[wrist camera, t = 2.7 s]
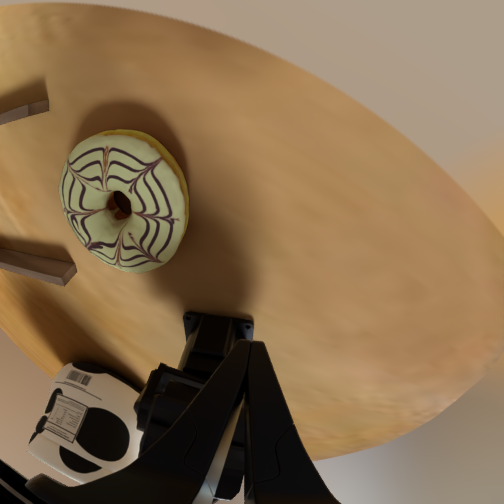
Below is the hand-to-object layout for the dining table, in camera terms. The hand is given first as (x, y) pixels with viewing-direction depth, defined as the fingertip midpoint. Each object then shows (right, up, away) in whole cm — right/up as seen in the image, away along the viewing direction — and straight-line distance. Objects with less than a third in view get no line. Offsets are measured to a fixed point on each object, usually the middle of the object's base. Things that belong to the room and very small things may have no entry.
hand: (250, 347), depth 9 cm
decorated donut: (-9, +8, +11) cm, 16 cm away
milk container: (-22, -18, +28) cm, 40 cm away
